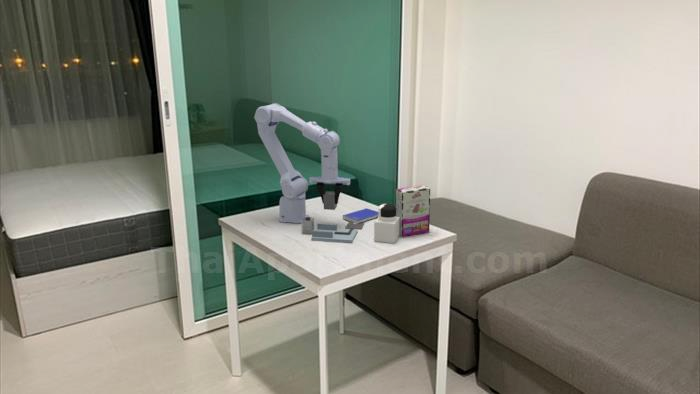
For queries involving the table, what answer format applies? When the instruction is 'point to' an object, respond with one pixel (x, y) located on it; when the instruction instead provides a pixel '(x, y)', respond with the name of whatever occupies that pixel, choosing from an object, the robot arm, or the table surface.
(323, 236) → the blue-grey panel
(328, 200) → the block
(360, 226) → the mat
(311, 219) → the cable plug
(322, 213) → the table surface
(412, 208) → the candy bar box
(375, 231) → the medicine bottle
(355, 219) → the hard drive
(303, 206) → the robot arm
